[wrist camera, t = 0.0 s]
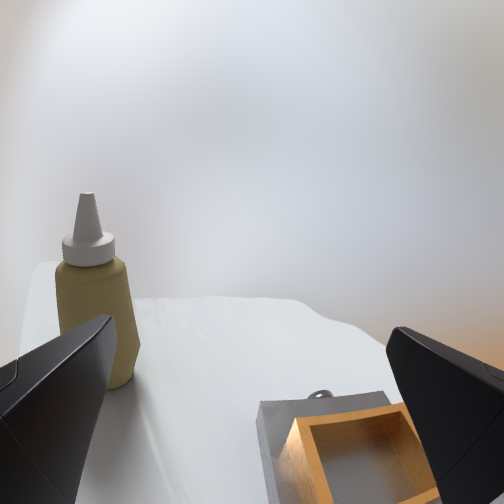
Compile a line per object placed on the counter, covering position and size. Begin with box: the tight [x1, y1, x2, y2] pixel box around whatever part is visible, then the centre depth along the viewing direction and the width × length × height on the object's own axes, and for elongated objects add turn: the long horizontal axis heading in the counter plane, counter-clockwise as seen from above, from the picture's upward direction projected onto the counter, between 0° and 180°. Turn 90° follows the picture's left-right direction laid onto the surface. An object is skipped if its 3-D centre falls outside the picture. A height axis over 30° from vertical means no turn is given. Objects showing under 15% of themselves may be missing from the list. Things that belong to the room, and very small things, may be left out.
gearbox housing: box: [256, 390, 442, 504], centre depth 15 cm, size 19×12×6 cm, turn 7°
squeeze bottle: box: [55, 192, 140, 390], centre depth 23 cm, size 8×8×18 cm
